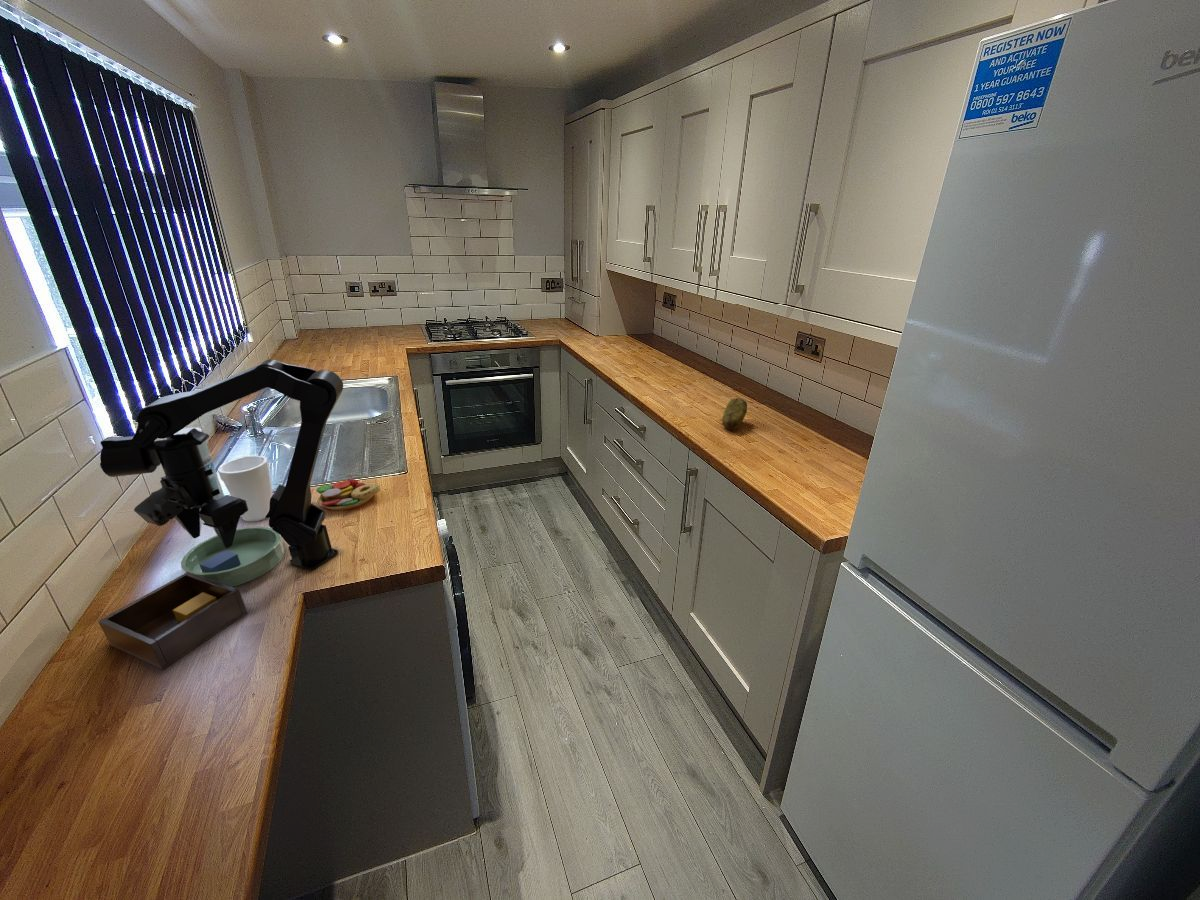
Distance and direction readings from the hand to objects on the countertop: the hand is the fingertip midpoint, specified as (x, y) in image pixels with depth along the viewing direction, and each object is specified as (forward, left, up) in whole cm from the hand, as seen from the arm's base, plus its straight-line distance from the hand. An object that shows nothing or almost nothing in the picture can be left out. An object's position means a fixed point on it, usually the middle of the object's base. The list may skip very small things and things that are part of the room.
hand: (212, 542), depth 99 cm
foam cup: (-18, -14, -7) cm, 24 cm away
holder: (+13, +9, -7) cm, 17 cm away
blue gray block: (0, 0, -6) cm, 6 cm away
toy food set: (-31, 0, -7) cm, 32 cm away
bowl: (-3, 0, -7) cm, 7 cm away
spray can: (-15, -26, -7) cm, 31 cm away
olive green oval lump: (-114, +79, -7) cm, 139 cm away
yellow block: (+10, +9, -6) cm, 15 cm away
